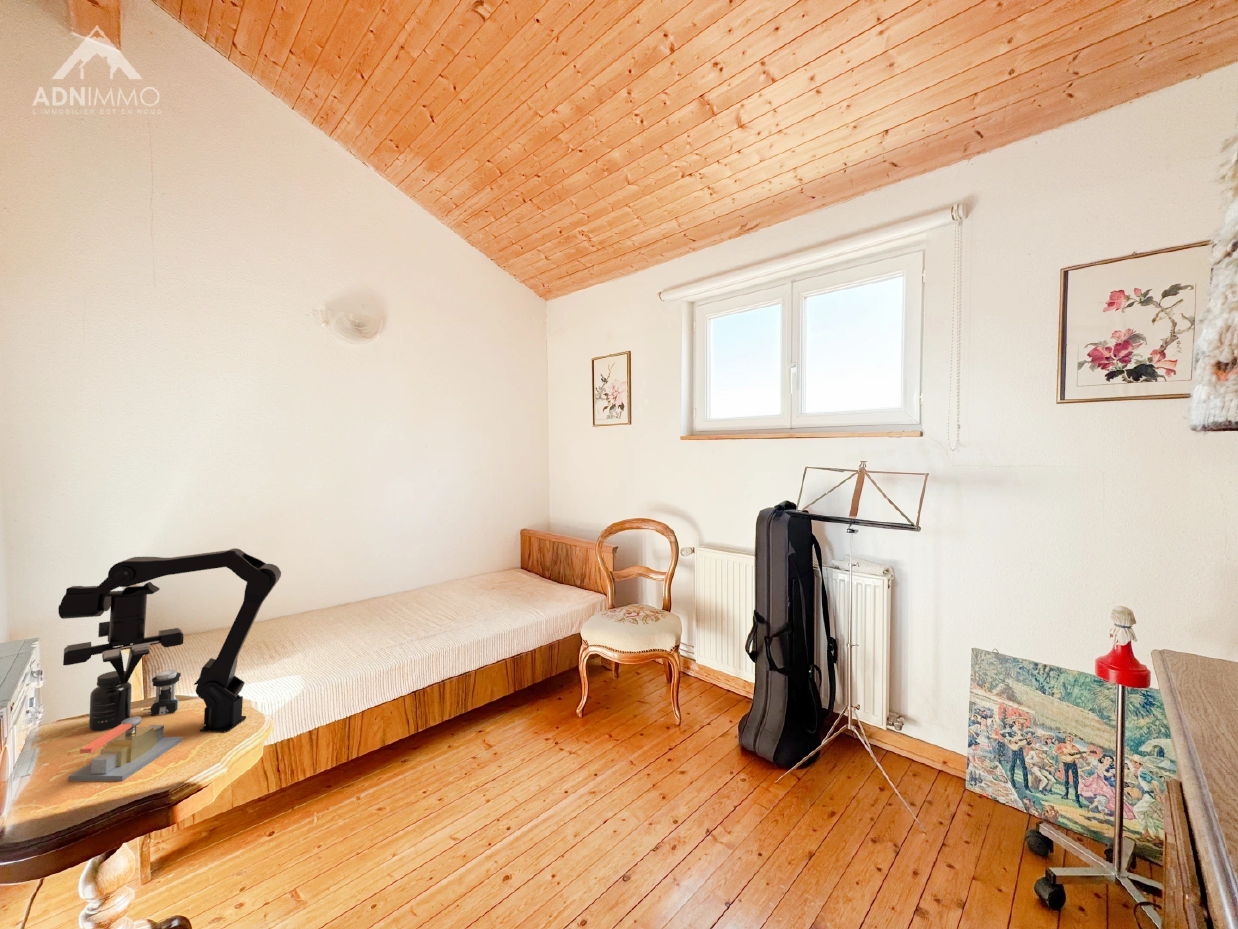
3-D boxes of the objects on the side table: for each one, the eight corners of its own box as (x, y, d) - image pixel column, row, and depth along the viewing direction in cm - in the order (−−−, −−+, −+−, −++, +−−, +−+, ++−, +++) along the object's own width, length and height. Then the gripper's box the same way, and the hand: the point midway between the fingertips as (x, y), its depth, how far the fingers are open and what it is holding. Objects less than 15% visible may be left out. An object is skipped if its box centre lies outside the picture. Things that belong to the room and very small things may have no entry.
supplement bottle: (98, 720, 116) (101, 670, 117) (135, 715, 119) (138, 666, 119) (81, 734, 110) (84, 682, 110) (121, 729, 113) (124, 677, 113)
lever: (128, 721, 103) (129, 716, 103) (145, 720, 104) (145, 716, 104) (76, 754, 91) (76, 749, 91) (94, 753, 92) (95, 748, 92)
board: (181, 741, 109) (182, 737, 109) (122, 781, 95) (122, 776, 95) (135, 741, 109) (135, 736, 109) (68, 781, 95) (68, 776, 95)
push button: (138, 720, 117) (141, 679, 117) (147, 710, 122) (149, 671, 122) (174, 715, 120) (176, 675, 120) (181, 705, 125) (184, 667, 125)
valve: (168, 740, 109) (170, 711, 109) (111, 777, 96) (113, 744, 96) (145, 740, 108) (146, 711, 108) (84, 777, 95) (86, 744, 95)
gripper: (178, 599, 121) (175, 661, 121) (66, 614, 107) (61, 684, 107) (185, 609, 114) (181, 675, 113) (65, 626, 100) (60, 701, 99)
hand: (124, 683), depth 109 cm, fingers closed
